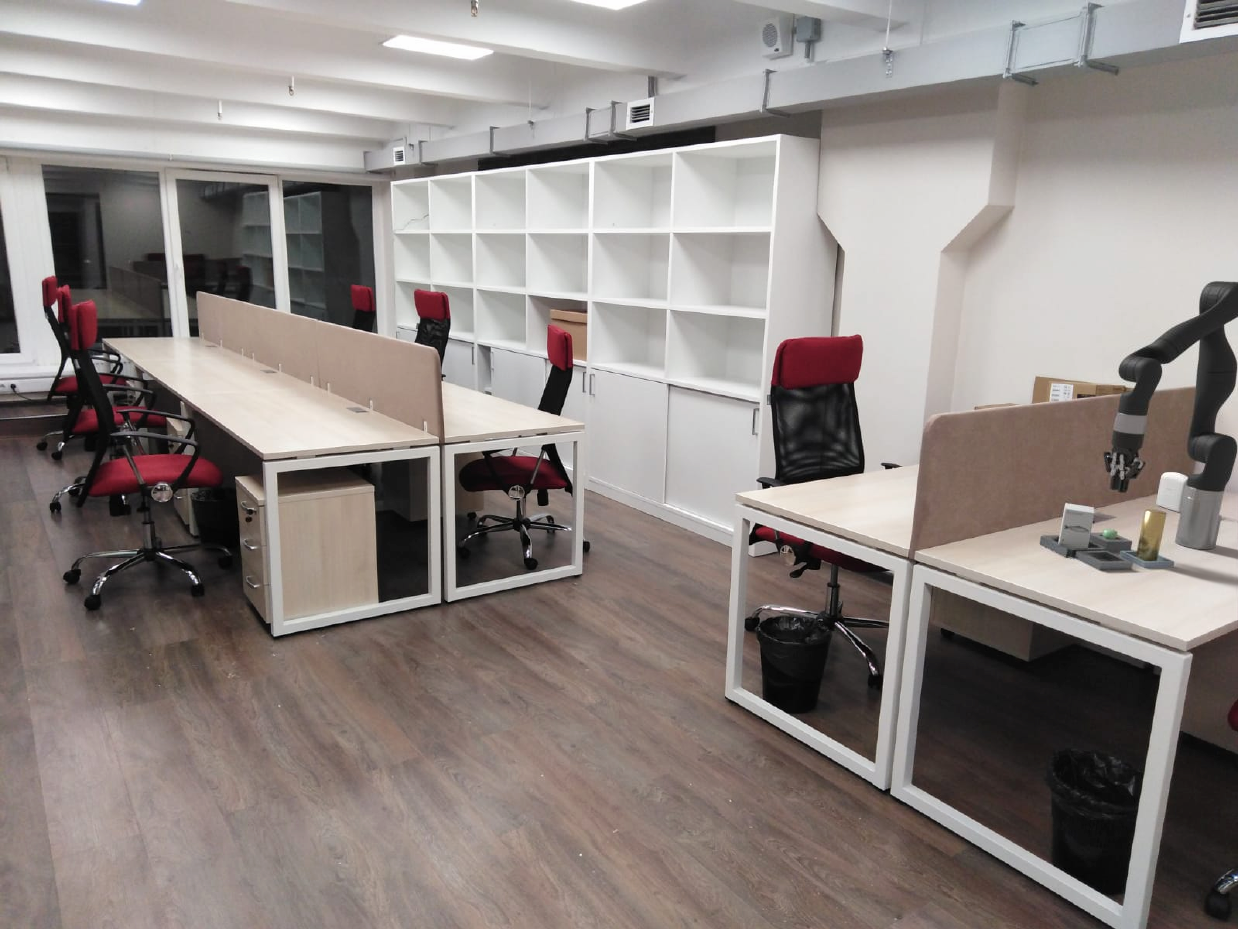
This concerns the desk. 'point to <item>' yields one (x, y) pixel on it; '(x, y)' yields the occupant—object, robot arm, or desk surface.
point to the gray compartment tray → (1087, 554)
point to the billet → (1151, 535)
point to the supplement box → (1076, 526)
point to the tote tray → (1146, 564)
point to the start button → (1109, 534)
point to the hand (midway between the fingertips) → (1118, 490)
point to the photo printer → (1171, 491)
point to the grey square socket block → (1112, 542)
